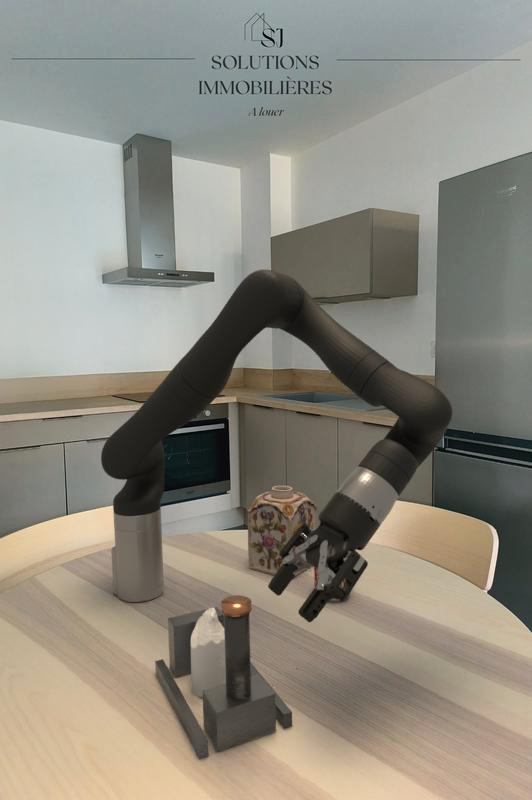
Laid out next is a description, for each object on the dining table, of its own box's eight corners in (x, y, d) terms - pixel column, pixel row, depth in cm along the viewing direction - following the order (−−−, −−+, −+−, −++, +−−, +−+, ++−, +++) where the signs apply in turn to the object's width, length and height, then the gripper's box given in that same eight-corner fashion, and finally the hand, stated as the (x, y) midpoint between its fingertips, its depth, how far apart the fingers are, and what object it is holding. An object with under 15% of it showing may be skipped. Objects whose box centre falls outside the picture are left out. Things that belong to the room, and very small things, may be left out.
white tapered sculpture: (181, 605, 82) (216, 595, 84) (184, 683, 83) (218, 670, 86) (199, 621, 76) (235, 610, 79) (202, 704, 78) (237, 690, 81)
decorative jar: (247, 569, 124) (245, 489, 123) (276, 552, 134) (274, 479, 132) (292, 581, 118) (291, 497, 116) (320, 563, 127) (319, 485, 125)
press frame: (154, 671, 86) (152, 621, 85) (231, 650, 91) (230, 603, 90) (199, 759, 67) (197, 696, 66) (292, 726, 73) (291, 667, 72)
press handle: (203, 726, 73) (199, 600, 71) (259, 708, 76) (256, 588, 75) (217, 751, 68) (213, 617, 67) (276, 730, 72) (273, 603, 70)
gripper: (315, 480, 83) (246, 570, 79) (374, 503, 70) (296, 612, 66) (345, 510, 86) (280, 598, 82) (407, 538, 73) (334, 643, 69)
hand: (287, 604), depth 74 cm, fingers open, 8 cm apart
